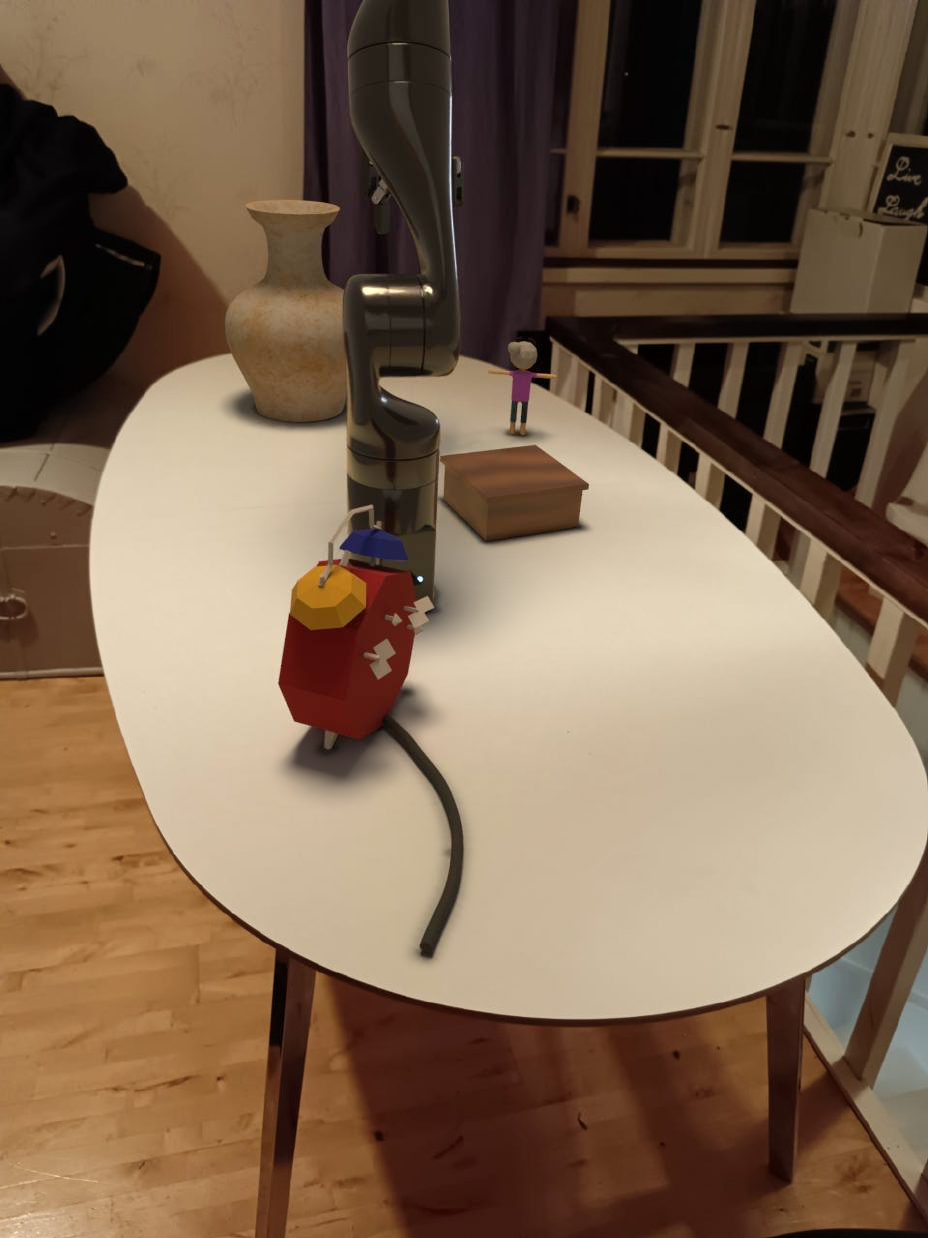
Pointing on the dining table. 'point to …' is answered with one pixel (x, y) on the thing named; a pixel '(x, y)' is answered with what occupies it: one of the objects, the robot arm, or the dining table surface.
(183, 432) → the dining table surface
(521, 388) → the toy
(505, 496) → the wooden stand
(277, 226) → the vase
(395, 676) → the alarm clock
